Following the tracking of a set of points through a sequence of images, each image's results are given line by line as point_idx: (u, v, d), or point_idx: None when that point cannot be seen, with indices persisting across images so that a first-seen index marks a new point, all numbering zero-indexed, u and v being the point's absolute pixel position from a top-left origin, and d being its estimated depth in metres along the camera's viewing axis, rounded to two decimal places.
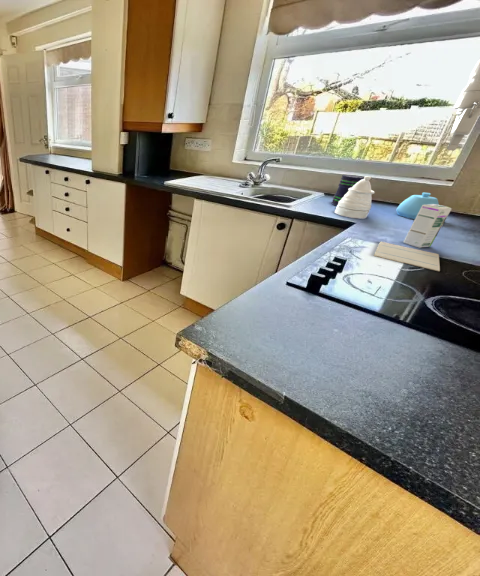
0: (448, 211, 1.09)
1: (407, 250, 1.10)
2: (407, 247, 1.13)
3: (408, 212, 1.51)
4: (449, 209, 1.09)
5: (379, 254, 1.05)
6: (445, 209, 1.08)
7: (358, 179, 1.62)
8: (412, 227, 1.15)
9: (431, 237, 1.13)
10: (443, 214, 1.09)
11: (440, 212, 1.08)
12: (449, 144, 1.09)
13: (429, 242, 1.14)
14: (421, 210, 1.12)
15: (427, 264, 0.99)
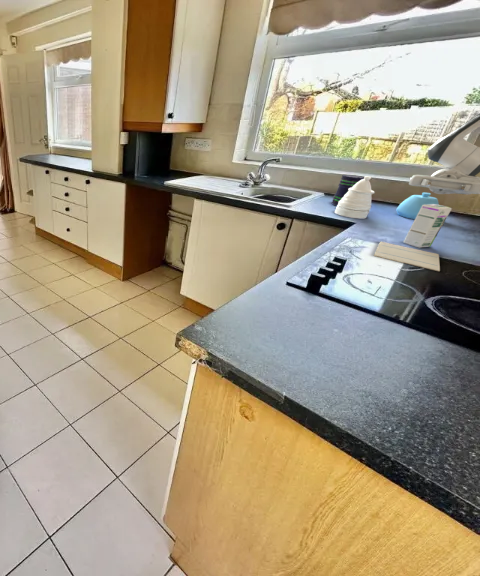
0: (448, 211, 1.09)
1: (407, 250, 1.10)
2: (407, 247, 1.13)
3: (408, 212, 1.51)
4: (449, 209, 1.09)
5: (379, 254, 1.05)
6: (445, 209, 1.08)
7: (358, 179, 1.62)
8: (412, 227, 1.15)
9: (431, 237, 1.13)
10: (443, 214, 1.09)
11: (440, 212, 1.08)
12: (459, 189, 1.14)
13: (429, 242, 1.14)
14: (421, 210, 1.12)
15: (427, 264, 0.99)
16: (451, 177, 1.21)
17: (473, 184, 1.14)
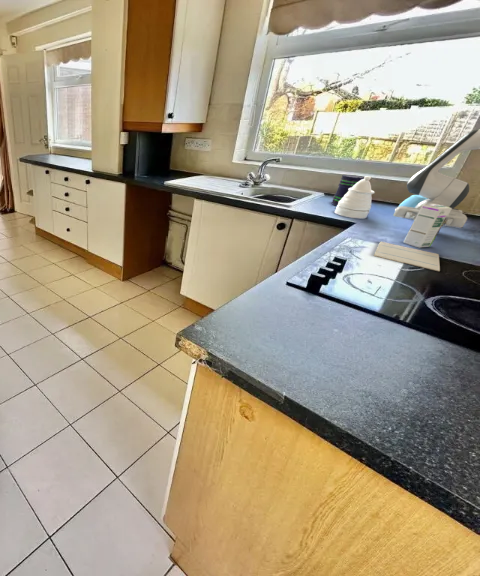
0: (448, 211, 1.09)
1: (407, 250, 1.10)
2: (407, 247, 1.13)
3: None
4: (449, 209, 1.09)
5: (379, 254, 1.05)
6: (445, 209, 1.08)
7: (358, 179, 1.62)
8: (412, 227, 1.15)
9: (431, 237, 1.13)
10: (443, 214, 1.09)
11: (440, 212, 1.08)
12: None
13: (429, 242, 1.14)
14: (421, 210, 1.12)
15: (427, 264, 0.99)
16: None
17: (454, 218, 1.17)
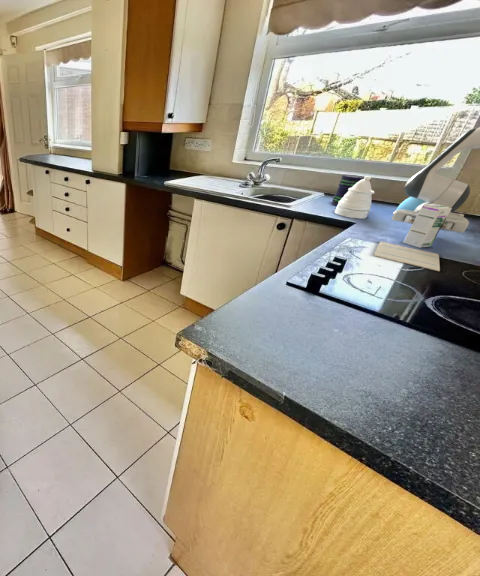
0: (448, 211, 1.09)
1: (407, 250, 1.10)
2: (407, 247, 1.13)
3: None
4: (449, 209, 1.09)
5: (379, 254, 1.05)
6: (445, 209, 1.08)
7: (358, 179, 1.62)
8: (412, 227, 1.15)
9: (431, 237, 1.13)
10: (443, 214, 1.09)
11: (440, 212, 1.08)
12: None
13: (429, 242, 1.14)
14: (421, 210, 1.12)
15: (427, 264, 0.99)
16: None
17: (456, 223, 1.11)
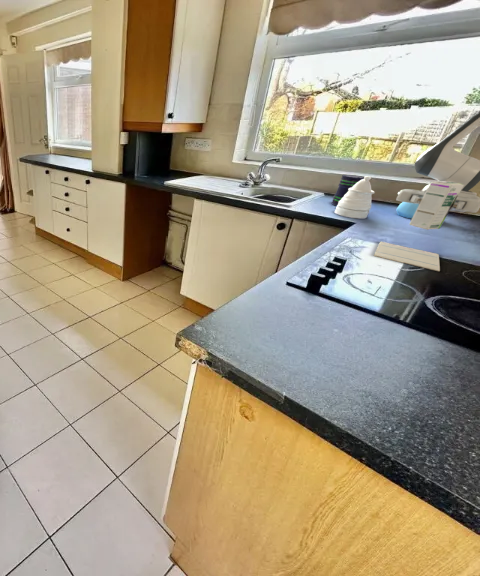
0: (460, 188, 0.98)
1: (407, 250, 1.10)
2: (407, 247, 1.13)
3: (408, 212, 1.51)
4: (460, 186, 0.97)
5: (379, 254, 1.05)
6: (456, 186, 0.97)
7: (358, 179, 1.62)
8: (419, 207, 1.04)
9: (440, 217, 1.01)
10: (454, 191, 0.98)
11: (450, 189, 0.97)
12: (451, 207, 1.01)
13: (438, 223, 1.03)
14: (429, 188, 1.01)
15: (427, 264, 0.99)
16: None
17: (468, 201, 1.00)
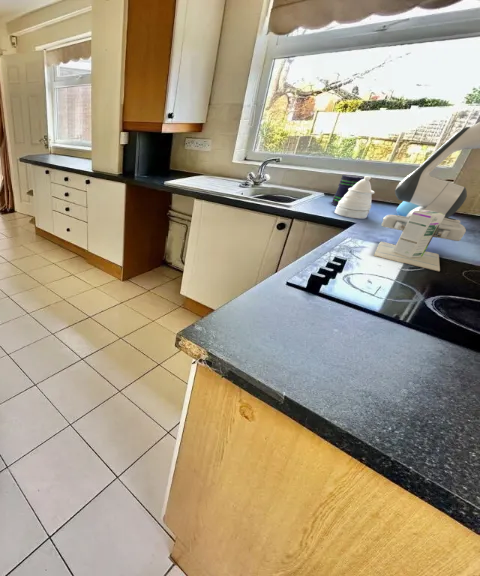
0: (441, 218, 0.99)
1: None
2: None
3: (408, 212, 1.51)
4: (442, 216, 0.98)
5: (379, 254, 1.05)
6: (438, 216, 0.98)
7: (358, 179, 1.62)
8: (402, 235, 1.05)
9: (422, 246, 1.02)
10: (435, 221, 0.98)
11: (432, 220, 0.98)
12: (435, 236, 1.01)
13: (420, 251, 1.03)
14: (412, 217, 1.02)
15: (427, 264, 0.99)
16: None
17: (451, 230, 1.00)
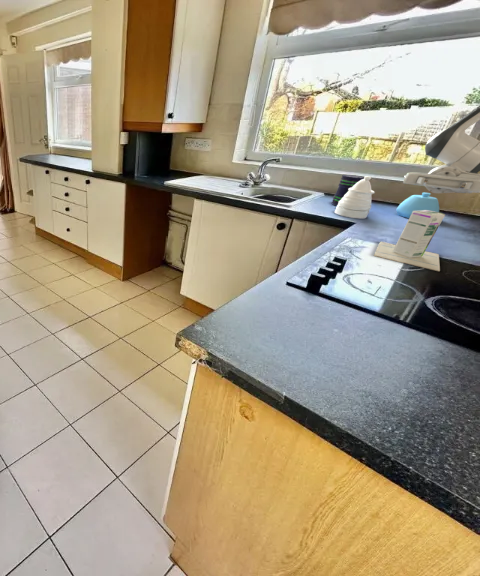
0: (441, 218, 0.99)
1: None
2: None
3: (408, 212, 1.51)
4: (442, 216, 0.98)
5: (379, 254, 1.05)
6: (438, 216, 0.98)
7: (358, 179, 1.62)
8: (402, 235, 1.05)
9: (422, 246, 1.02)
10: (435, 221, 0.98)
11: (432, 220, 0.98)
12: (459, 187, 1.03)
13: (420, 251, 1.03)
14: (412, 217, 1.02)
15: (427, 264, 0.99)
16: (450, 174, 1.09)
17: (474, 182, 1.02)
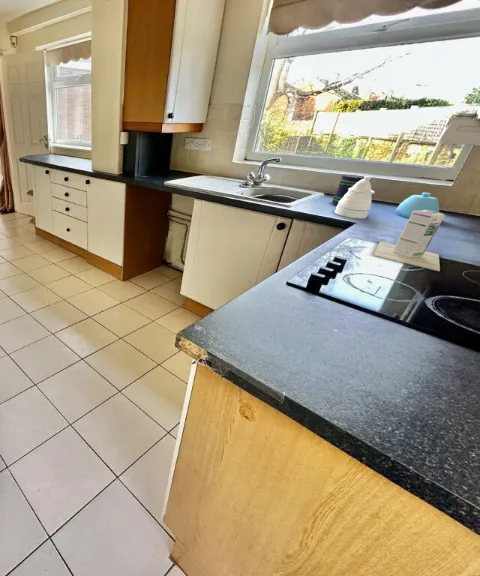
0: (441, 218, 0.99)
1: None
2: None
3: (408, 212, 1.51)
4: (442, 216, 0.98)
5: (379, 254, 1.05)
6: (438, 216, 0.98)
7: (358, 179, 1.62)
8: (402, 235, 1.05)
9: (422, 246, 1.02)
10: (435, 221, 0.98)
11: (432, 220, 0.98)
12: None
13: (420, 251, 1.03)
14: (412, 217, 1.02)
15: (427, 264, 0.99)
16: None
17: None
